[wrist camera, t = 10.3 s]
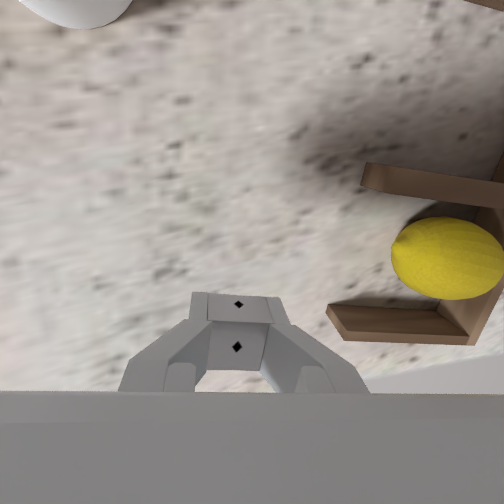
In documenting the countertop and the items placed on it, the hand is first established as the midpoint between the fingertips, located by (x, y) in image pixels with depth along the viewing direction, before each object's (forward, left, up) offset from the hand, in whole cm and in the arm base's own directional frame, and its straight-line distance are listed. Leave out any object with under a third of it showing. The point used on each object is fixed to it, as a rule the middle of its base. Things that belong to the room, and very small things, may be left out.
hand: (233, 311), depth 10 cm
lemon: (-1, +11, -8) cm, 13 cm away
